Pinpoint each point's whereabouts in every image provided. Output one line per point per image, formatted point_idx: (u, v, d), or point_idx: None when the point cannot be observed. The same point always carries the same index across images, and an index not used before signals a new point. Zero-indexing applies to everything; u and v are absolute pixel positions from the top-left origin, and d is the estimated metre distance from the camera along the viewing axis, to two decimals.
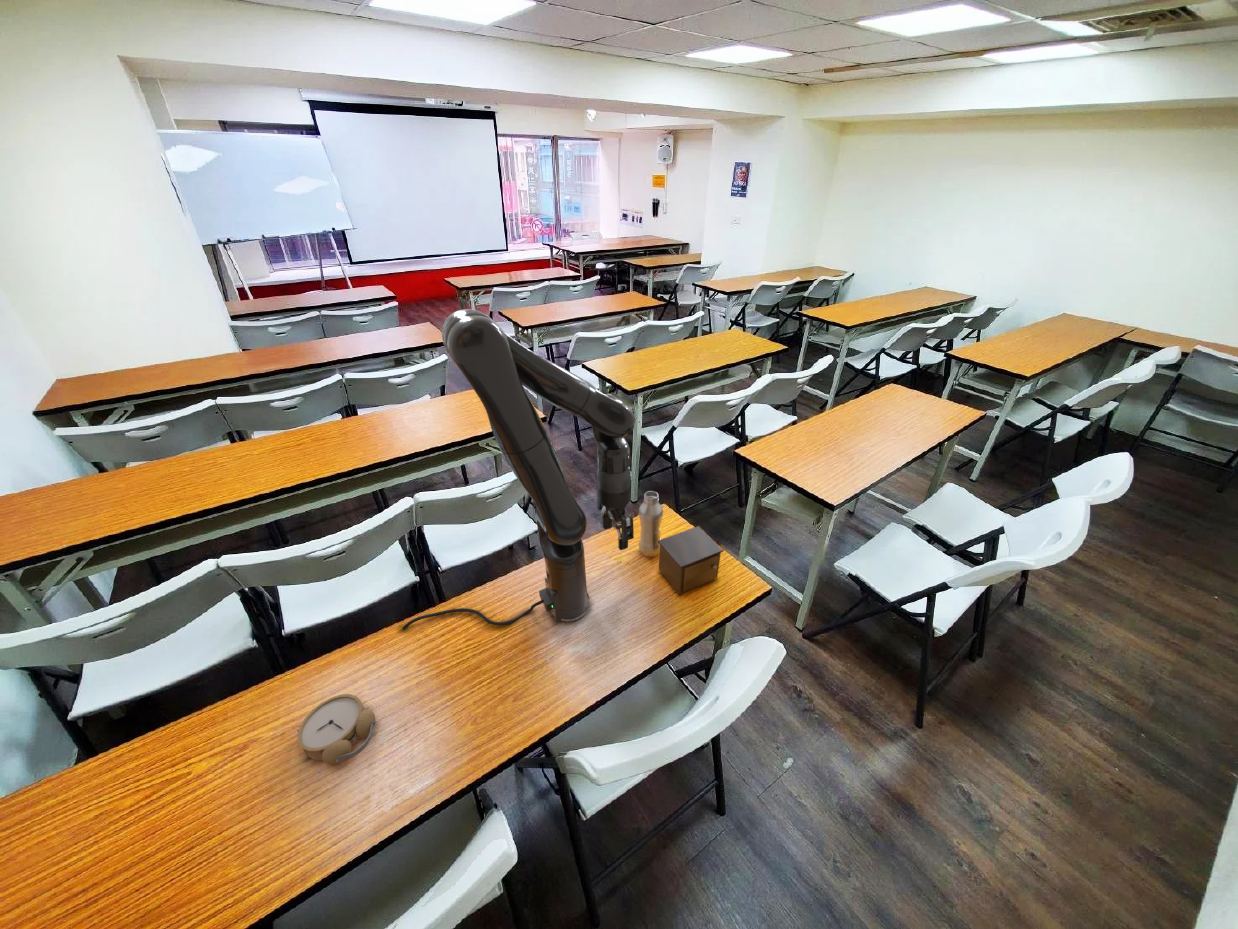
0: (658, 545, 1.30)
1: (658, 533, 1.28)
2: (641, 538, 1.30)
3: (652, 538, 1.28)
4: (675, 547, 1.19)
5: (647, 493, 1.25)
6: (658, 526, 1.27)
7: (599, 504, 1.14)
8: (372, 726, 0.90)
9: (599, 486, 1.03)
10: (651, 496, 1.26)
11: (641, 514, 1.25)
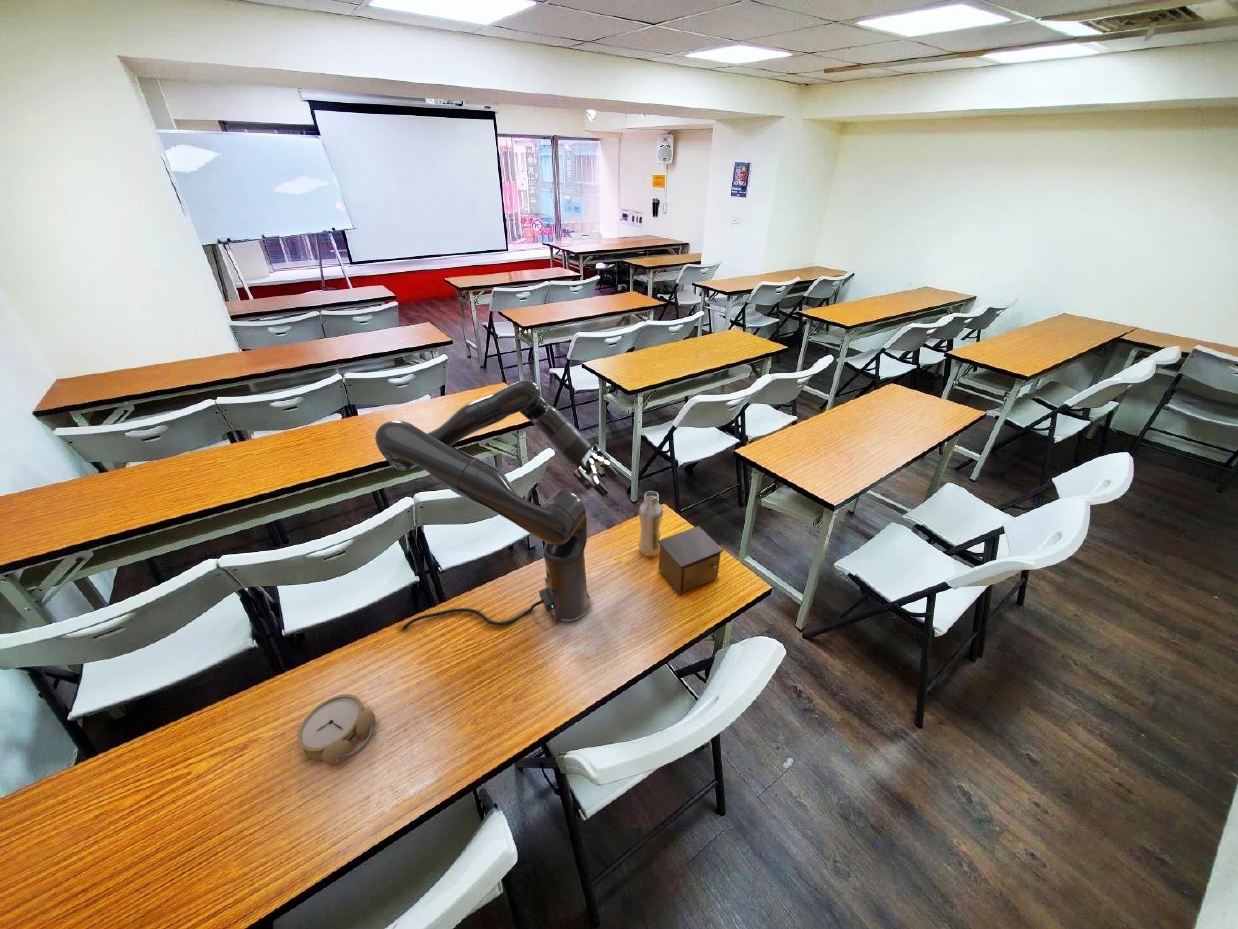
0: (658, 545, 1.30)
1: (658, 533, 1.28)
2: (641, 538, 1.30)
3: (652, 538, 1.28)
4: (675, 547, 1.19)
5: (647, 493, 1.25)
6: (658, 526, 1.27)
7: None
8: (372, 726, 0.90)
9: None
10: (651, 496, 1.26)
11: (641, 514, 1.25)
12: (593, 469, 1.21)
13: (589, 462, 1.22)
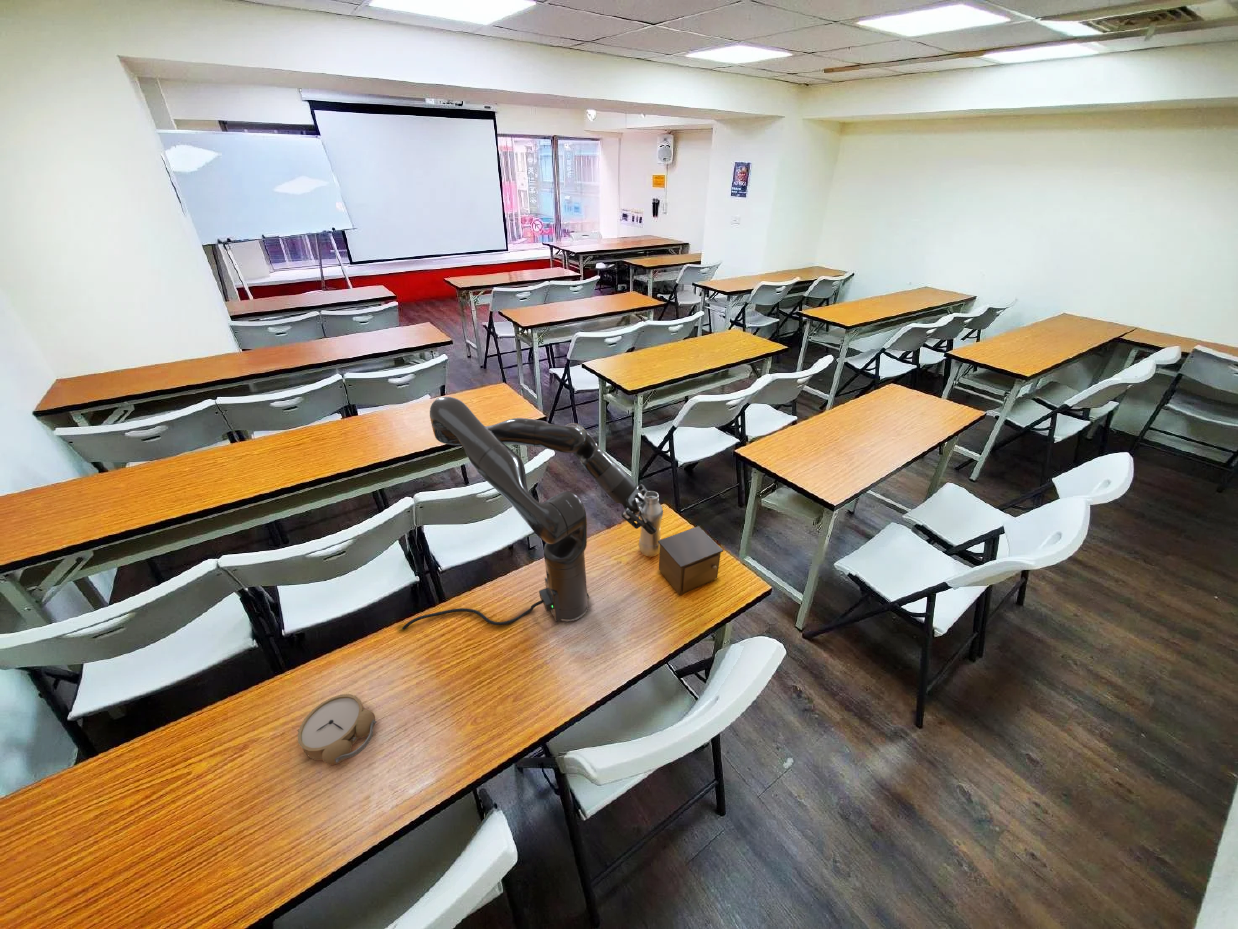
0: (658, 545, 1.30)
1: (658, 533, 1.28)
2: (641, 538, 1.30)
3: (652, 538, 1.28)
4: (675, 547, 1.19)
5: (647, 493, 1.25)
6: (658, 526, 1.27)
7: None
8: (372, 726, 0.90)
9: None
10: (651, 496, 1.26)
11: None
12: (639, 509, 1.23)
13: (635, 502, 1.24)
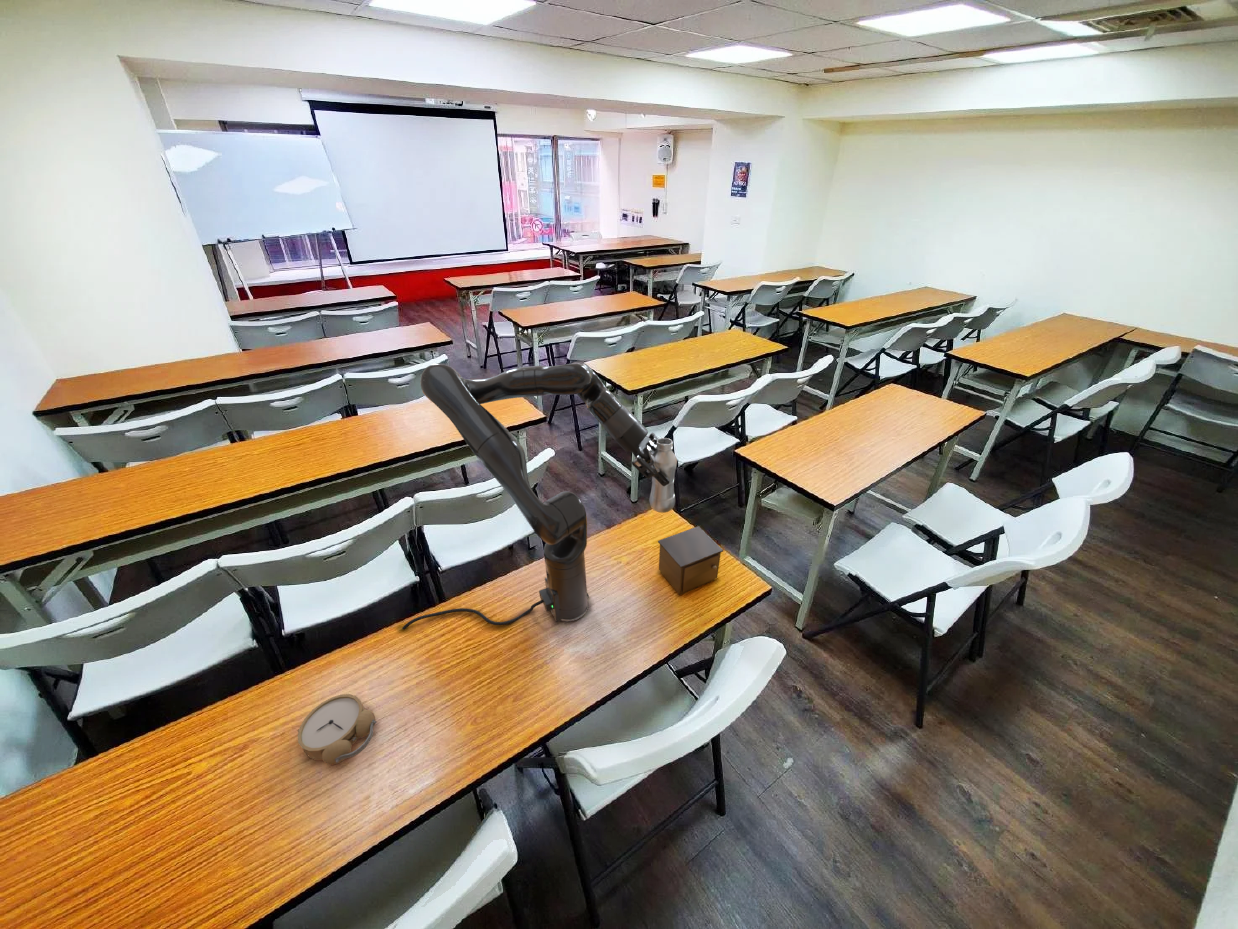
0: (671, 500, 1.18)
1: (671, 486, 1.17)
2: (652, 492, 1.18)
3: (665, 491, 1.16)
4: (675, 547, 1.19)
5: (660, 440, 1.13)
6: (672, 477, 1.15)
7: None
8: (372, 726, 0.90)
9: None
10: (664, 444, 1.14)
11: None
12: (651, 457, 1.12)
13: (646, 449, 1.12)
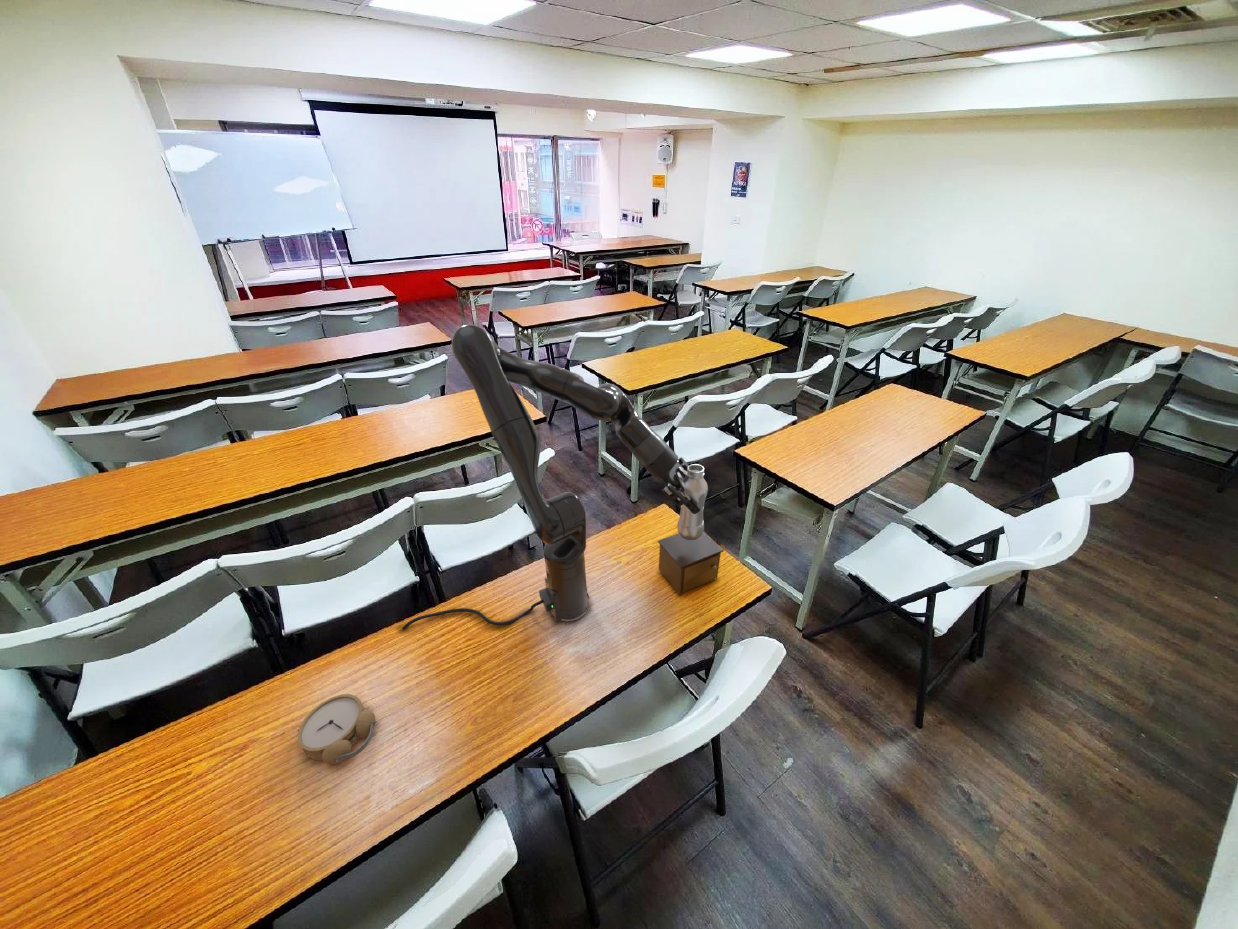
0: (700, 527, 1.14)
1: (701, 513, 1.12)
2: (681, 519, 1.14)
3: (695, 519, 1.12)
4: (675, 547, 1.19)
5: (690, 467, 1.09)
6: (702, 505, 1.11)
7: None
8: (372, 726, 0.90)
9: None
10: (695, 470, 1.10)
11: None
12: (682, 484, 1.07)
13: (677, 476, 1.08)
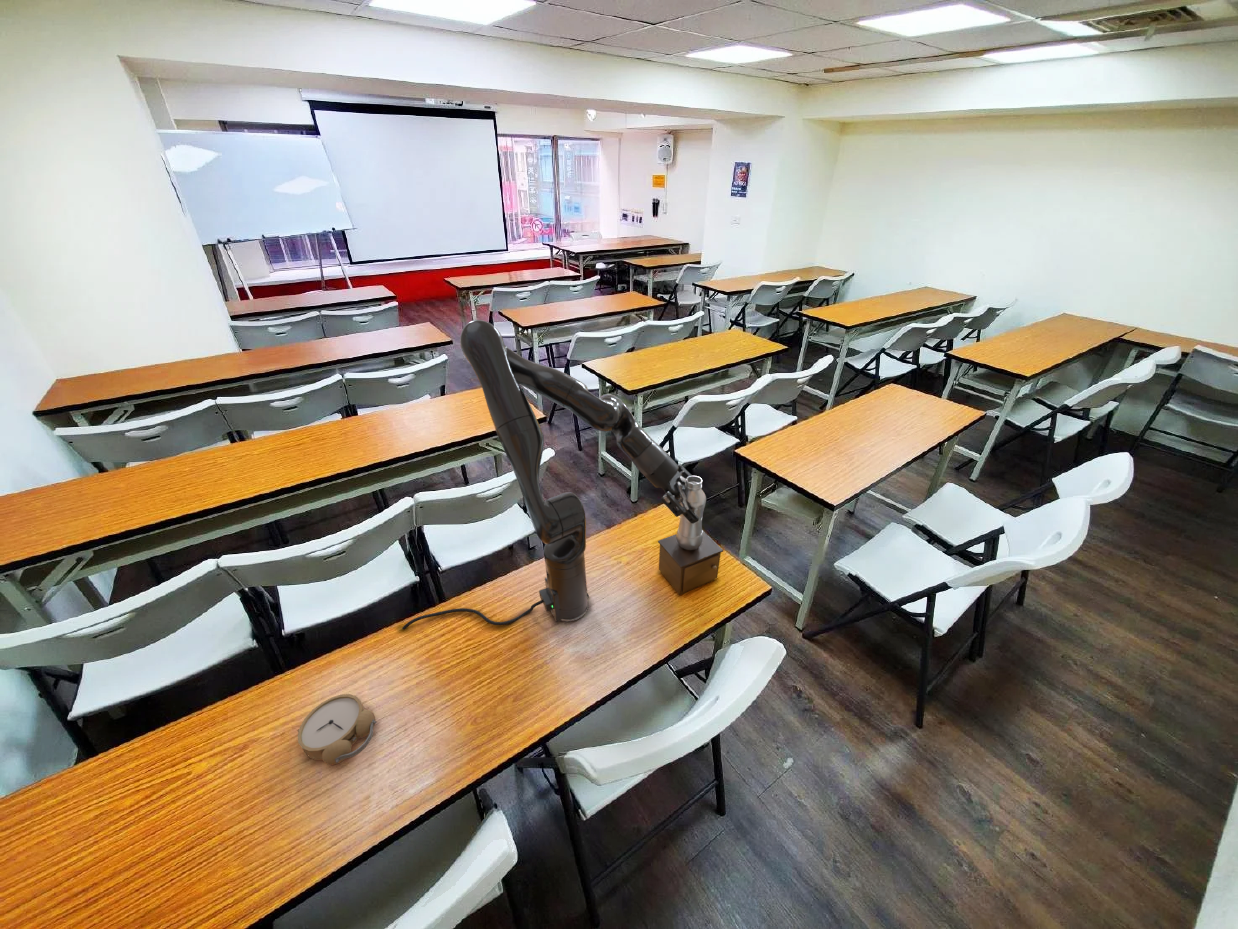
0: (699, 537, 1.16)
1: (700, 523, 1.14)
2: (680, 529, 1.16)
3: (693, 529, 1.14)
4: (675, 547, 1.19)
5: (689, 478, 1.11)
6: (700, 515, 1.13)
7: None
8: (372, 726, 0.90)
9: None
10: (693, 482, 1.12)
11: None
12: (682, 493, 1.09)
13: (677, 486, 1.09)
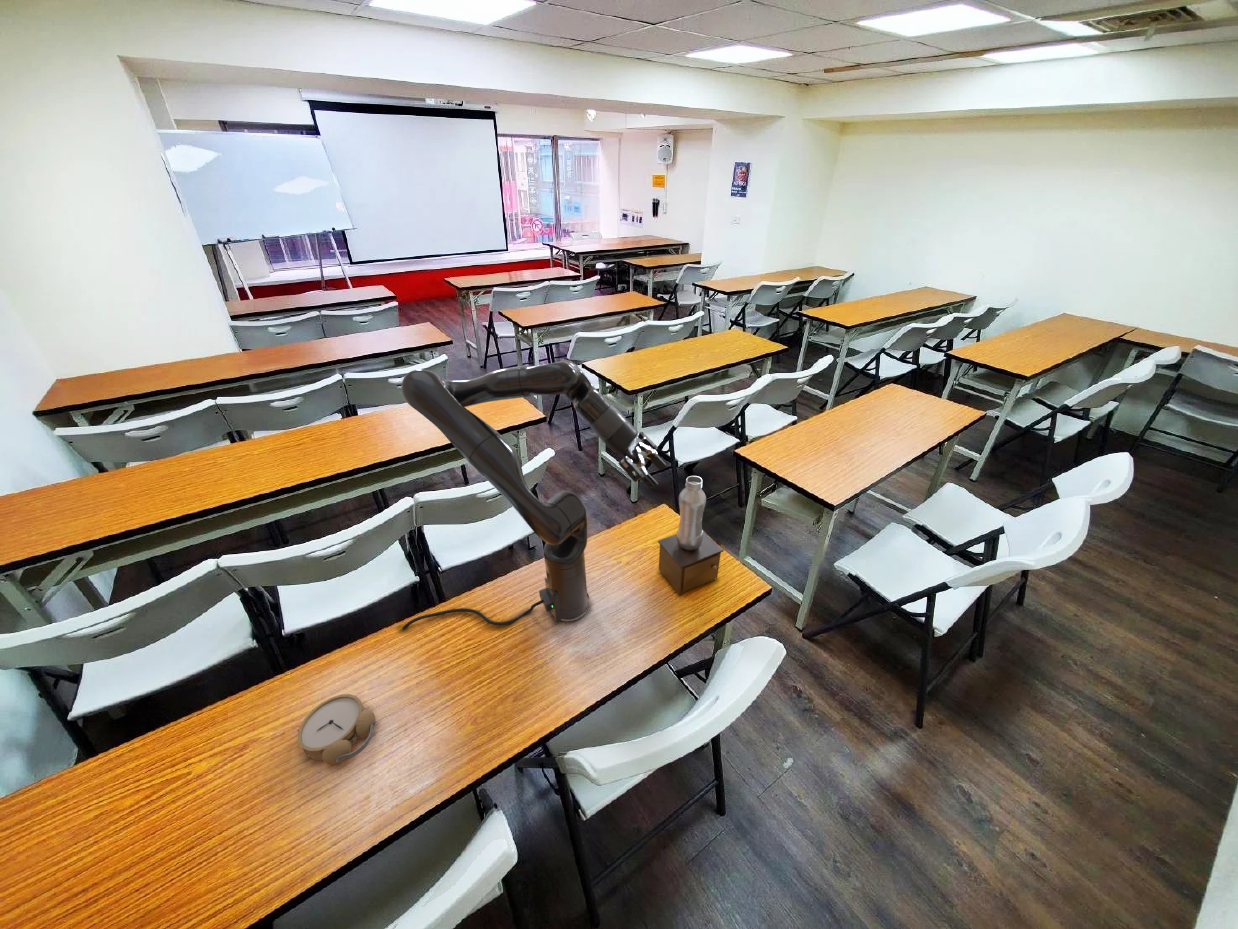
0: (699, 537, 1.16)
1: (700, 524, 1.14)
2: (680, 529, 1.16)
3: (693, 529, 1.14)
4: (675, 547, 1.19)
5: (689, 478, 1.11)
6: (700, 516, 1.13)
7: None
8: (372, 726, 0.90)
9: None
10: (693, 482, 1.12)
11: (682, 502, 1.11)
12: (641, 459, 1.07)
13: (636, 451, 1.08)
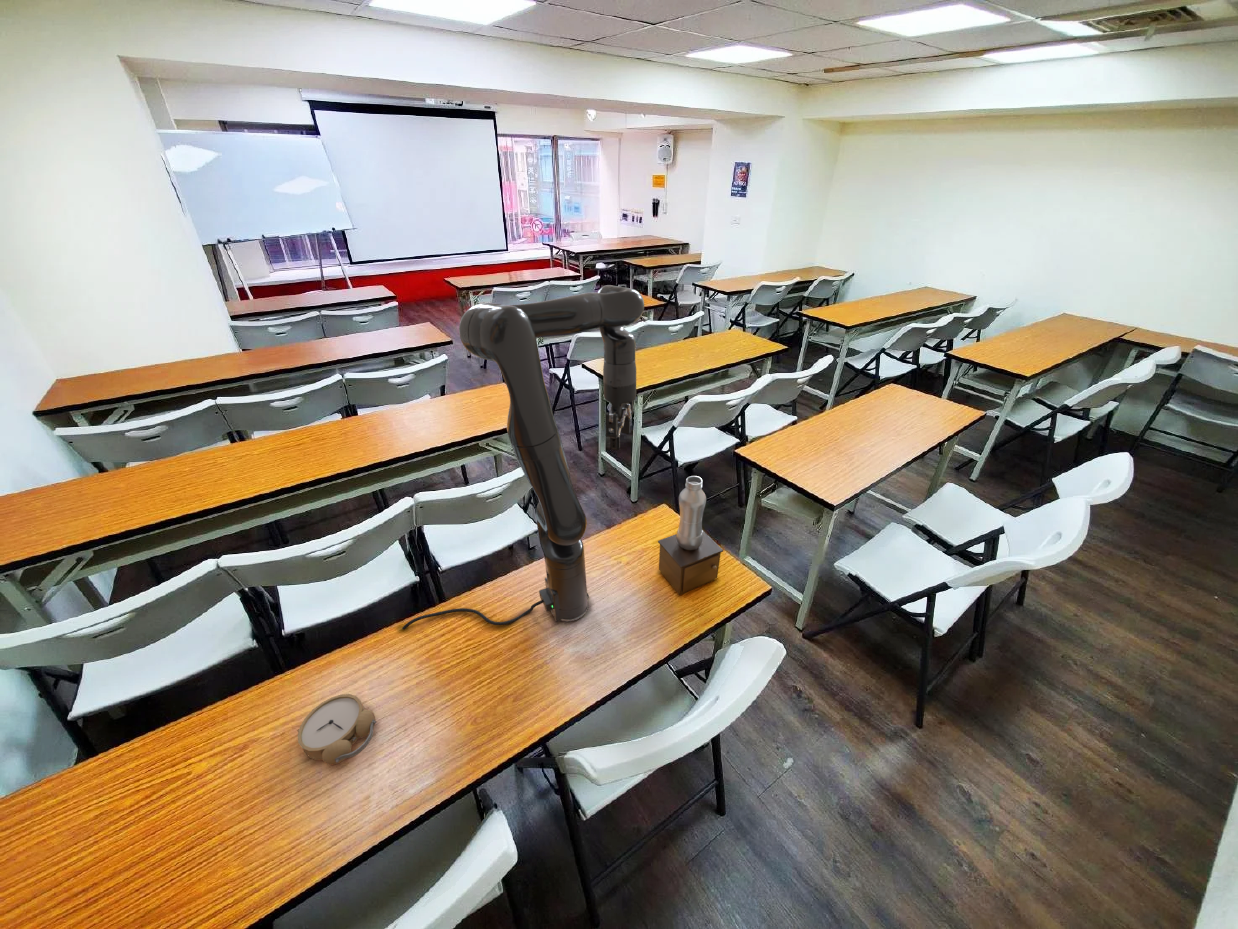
0: (699, 537, 1.16)
1: (700, 524, 1.14)
2: (680, 529, 1.16)
3: (693, 529, 1.14)
4: (675, 547, 1.19)
5: (689, 478, 1.11)
6: (700, 516, 1.13)
7: None
8: (372, 726, 0.90)
9: None
10: (693, 482, 1.12)
11: (682, 502, 1.11)
12: (623, 421, 1.09)
13: (624, 411, 1.08)
